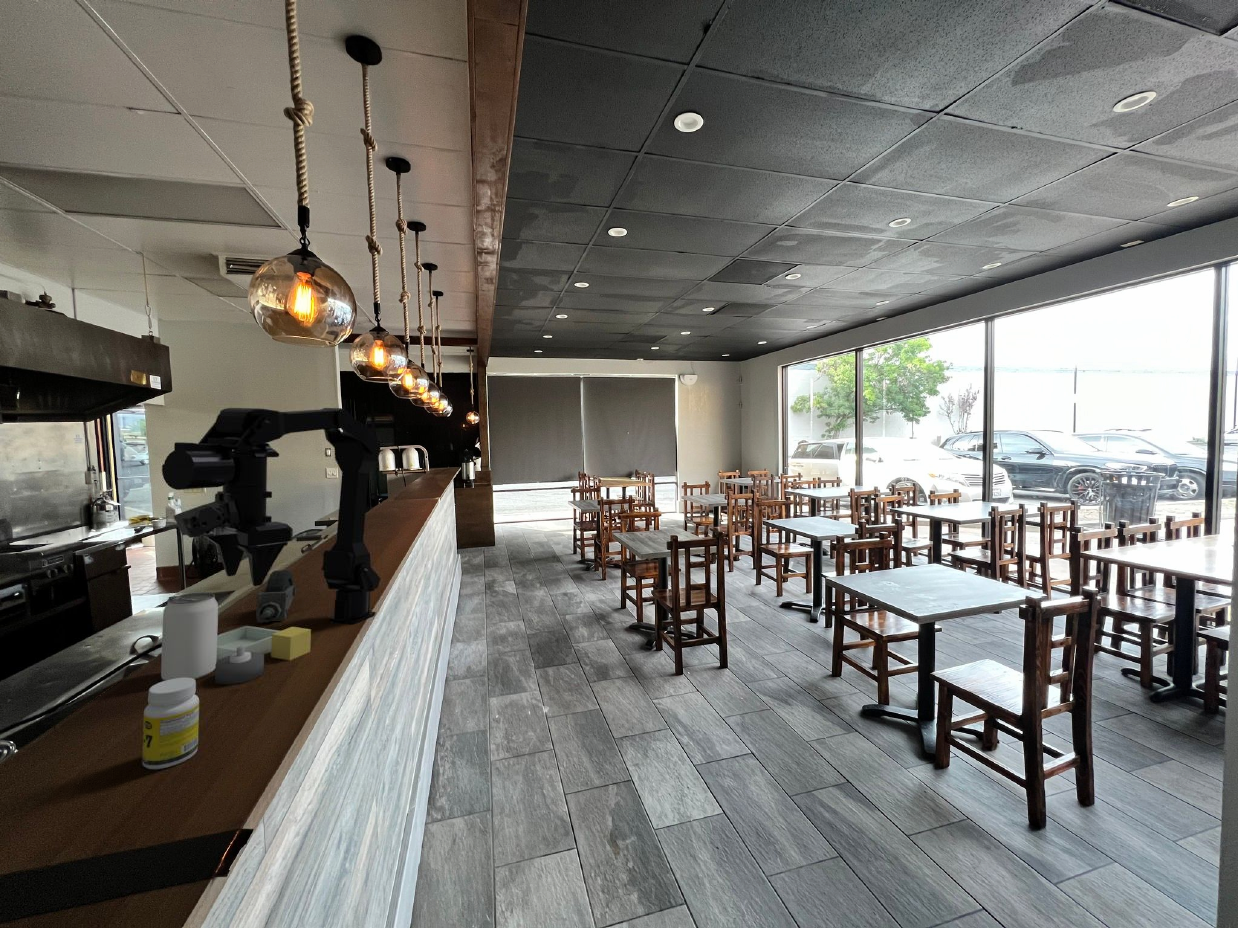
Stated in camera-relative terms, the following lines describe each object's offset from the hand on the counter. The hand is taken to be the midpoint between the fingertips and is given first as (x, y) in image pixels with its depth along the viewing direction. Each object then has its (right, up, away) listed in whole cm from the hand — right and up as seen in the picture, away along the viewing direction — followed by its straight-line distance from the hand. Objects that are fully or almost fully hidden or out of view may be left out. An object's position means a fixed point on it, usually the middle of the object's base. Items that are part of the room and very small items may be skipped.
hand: (243, 580), depth 81 cm
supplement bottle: (+10, -15, -24) cm, 30 cm away
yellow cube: (+4, -14, +5) cm, 16 cm away
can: (-6, -14, -4) cm, 15 cm away
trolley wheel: (+2, -14, -4) cm, 15 cm away
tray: (-4, -14, +5) cm, 15 cm away
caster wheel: (-11, -13, +23) cm, 29 cm away
